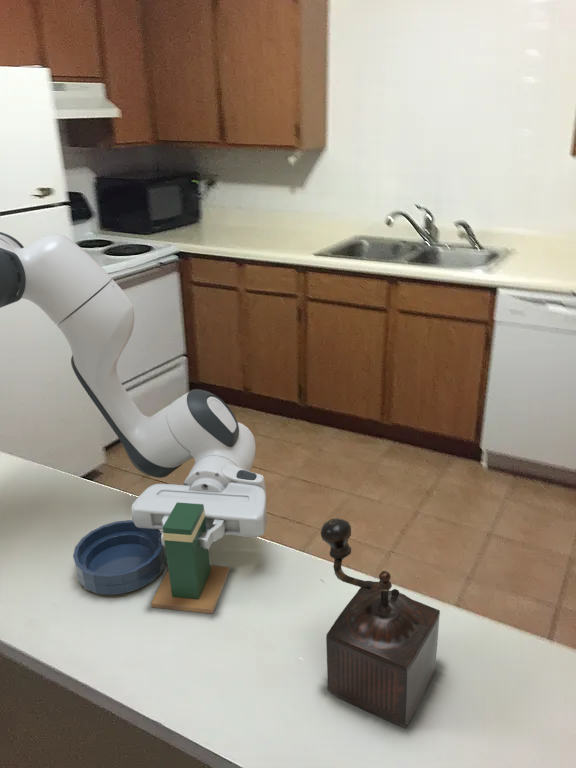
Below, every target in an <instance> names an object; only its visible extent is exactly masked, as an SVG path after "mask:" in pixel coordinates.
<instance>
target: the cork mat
mask: <svg viewBox="0 0 576 768" xmlns="http://www.w3.org/2000/svg"><path fill="white" fill-rule="evenodd" d="M210 570H211V572H210V574H209V577H208V579H207V581H206V584H205V586H204V588H203V591H202V593H201V596H200V598H199V599H190V598H180V597H172V592H171V585H170V577H169V570H168V569H167V570H166V572H165V575H164V577H163V579H162V581H161V582H160V585H159V586H158V588H157V590H156V592H155V594H154V596H153V598H152V600H151V602H150V607H151V608H154V609H164V610H174V611H183V612H184V611H185V612H193V613H201V614H202V613H203V614H211V615H213V614H214V612H215V609H216V607H217V604H218V601H219V600H220V597H221V594H222V592H223V588H224V586H225V583H226V580H227V579H228V575H229V573H230V567H229V566H224V565H223V566H222V565H213V564H210Z"/></svg>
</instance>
